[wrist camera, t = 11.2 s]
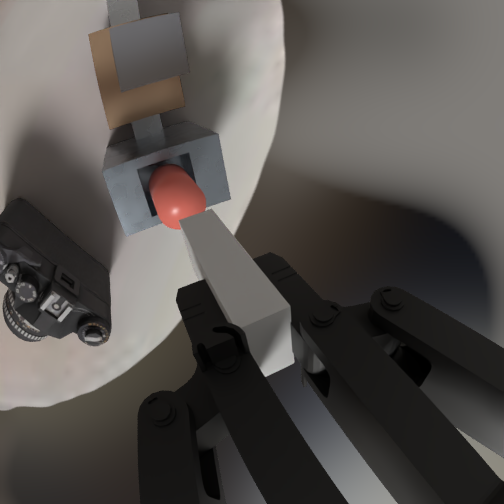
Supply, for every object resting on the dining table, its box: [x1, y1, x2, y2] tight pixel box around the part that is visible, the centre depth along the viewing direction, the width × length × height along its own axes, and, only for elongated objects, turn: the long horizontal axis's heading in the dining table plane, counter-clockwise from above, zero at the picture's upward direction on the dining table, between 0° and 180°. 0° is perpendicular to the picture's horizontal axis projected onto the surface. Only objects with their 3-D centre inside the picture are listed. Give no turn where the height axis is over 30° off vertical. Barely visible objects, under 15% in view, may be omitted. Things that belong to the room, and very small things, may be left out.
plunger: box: [149, 164, 206, 229], centre depth 18 cm, size 3×3×4 cm
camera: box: [0, 199, 111, 346], centre depth 22 cm, size 14×11×10 cm
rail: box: [102, 0, 231, 236], centre depth 15 cm, size 32×8×9 cm, turn 9°
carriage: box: [88, 12, 190, 130], centre depth 15 cm, size 8×6×15 cm
